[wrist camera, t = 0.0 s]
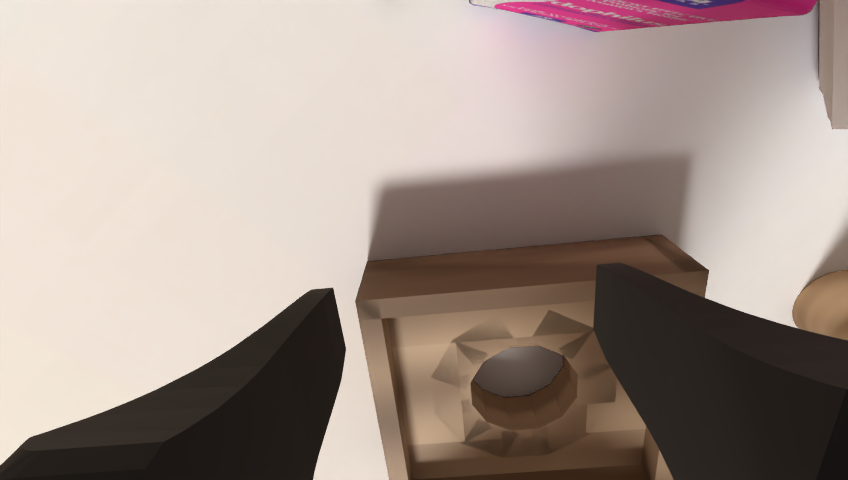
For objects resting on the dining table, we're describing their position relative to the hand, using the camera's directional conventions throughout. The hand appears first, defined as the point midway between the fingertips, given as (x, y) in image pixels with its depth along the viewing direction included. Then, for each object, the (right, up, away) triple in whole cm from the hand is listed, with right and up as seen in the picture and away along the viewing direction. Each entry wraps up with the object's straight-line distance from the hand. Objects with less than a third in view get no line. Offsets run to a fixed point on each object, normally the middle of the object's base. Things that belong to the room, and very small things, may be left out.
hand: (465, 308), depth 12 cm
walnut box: (+4, -5, +13) cm, 15 cm away
